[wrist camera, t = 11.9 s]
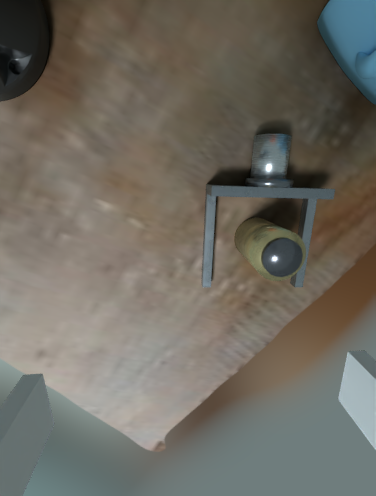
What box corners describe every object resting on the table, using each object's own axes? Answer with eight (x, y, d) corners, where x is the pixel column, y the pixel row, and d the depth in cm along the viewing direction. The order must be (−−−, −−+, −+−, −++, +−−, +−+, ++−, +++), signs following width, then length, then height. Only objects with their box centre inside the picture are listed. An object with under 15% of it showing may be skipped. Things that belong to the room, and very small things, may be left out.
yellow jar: (236, 217, 36) (259, 231, 27) (276, 218, 37) (313, 232, 27) (232, 257, 38) (253, 283, 28) (271, 257, 38) (305, 283, 29)
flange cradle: (208, 137, 33) (216, 129, 27) (320, 141, 34) (349, 135, 29) (201, 283, 39) (206, 301, 33) (297, 283, 40) (318, 300, 34)
